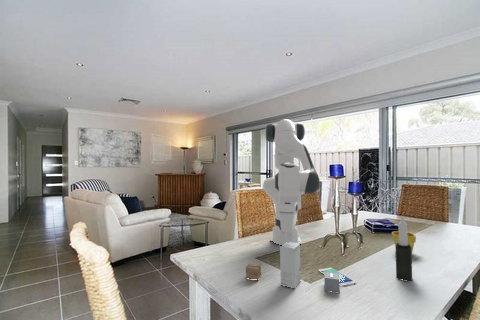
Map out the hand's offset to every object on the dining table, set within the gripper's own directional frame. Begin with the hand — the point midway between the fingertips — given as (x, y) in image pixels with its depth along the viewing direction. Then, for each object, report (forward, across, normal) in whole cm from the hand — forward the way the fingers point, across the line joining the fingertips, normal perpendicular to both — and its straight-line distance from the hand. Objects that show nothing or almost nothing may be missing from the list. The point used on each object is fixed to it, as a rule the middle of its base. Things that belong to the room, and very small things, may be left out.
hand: (290, 239), depth 95 cm
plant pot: (+18, -51, +52) cm, 75 cm away
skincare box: (+17, 0, 0) cm, 17 cm away
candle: (+17, -18, +43) cm, 50 cm away
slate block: (+17, 0, +15) cm, 23 cm away
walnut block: (+17, 0, -15) cm, 23 cm away
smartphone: (+18, -11, +17) cm, 27 cm away
